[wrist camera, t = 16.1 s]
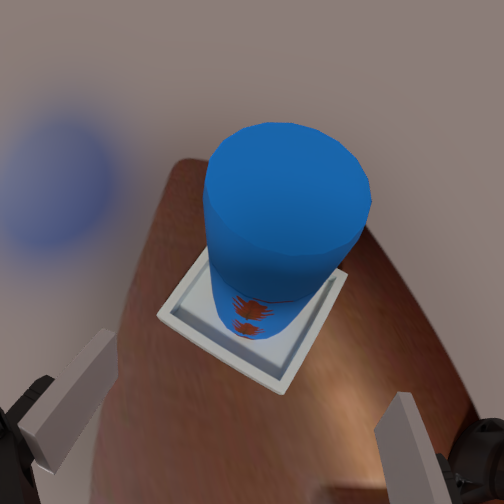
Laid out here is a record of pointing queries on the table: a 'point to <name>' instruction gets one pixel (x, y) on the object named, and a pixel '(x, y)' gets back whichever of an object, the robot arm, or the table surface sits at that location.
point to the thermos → (278, 222)
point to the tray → (242, 349)
